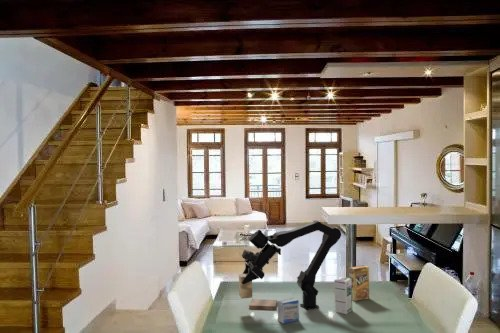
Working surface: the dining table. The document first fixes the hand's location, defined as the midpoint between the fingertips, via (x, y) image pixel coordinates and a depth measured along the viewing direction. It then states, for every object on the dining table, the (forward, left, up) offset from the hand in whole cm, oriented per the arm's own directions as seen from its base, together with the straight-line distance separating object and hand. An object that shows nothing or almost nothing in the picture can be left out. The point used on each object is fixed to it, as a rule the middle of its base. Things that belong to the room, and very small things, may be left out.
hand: (241, 281), depth 194 cm
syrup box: (-20, -40, -14) cm, 47 cm away
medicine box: (-18, -13, -14) cm, 26 cm away
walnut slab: (+3, -12, -14) cm, 19 cm away
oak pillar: (0, -2, -7) cm, 7 cm away
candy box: (-10, -57, -14) cm, 60 cm away
